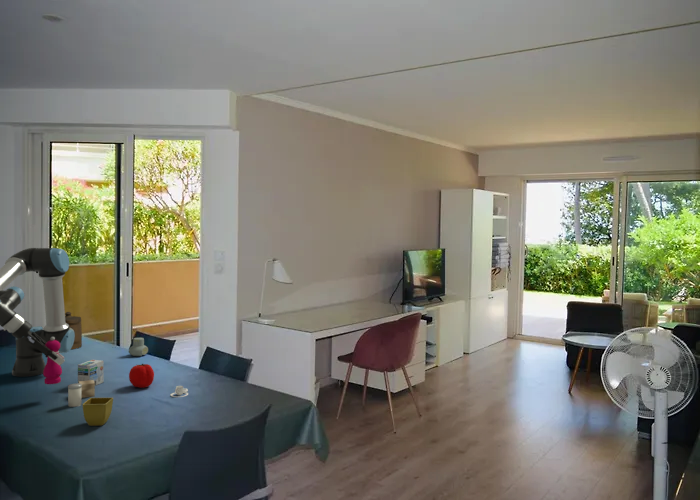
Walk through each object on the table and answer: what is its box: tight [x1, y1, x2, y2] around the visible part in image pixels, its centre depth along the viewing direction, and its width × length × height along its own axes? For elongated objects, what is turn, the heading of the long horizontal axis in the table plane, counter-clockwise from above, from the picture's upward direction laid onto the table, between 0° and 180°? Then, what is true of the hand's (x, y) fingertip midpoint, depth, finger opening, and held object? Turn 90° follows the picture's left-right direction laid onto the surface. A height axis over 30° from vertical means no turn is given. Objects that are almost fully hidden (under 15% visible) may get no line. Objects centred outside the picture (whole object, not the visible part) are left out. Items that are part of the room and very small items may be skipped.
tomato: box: [128, 363, 155, 389], centre depth 265 cm, size 12×12×11 cm
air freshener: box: [128, 337, 149, 357], centre depth 327 cm, size 11×8×10 cm
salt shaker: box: [67, 382, 82, 408], centre depth 236 cm, size 5×5×8 cm
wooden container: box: [65, 311, 83, 350], centre depth 344 cm, size 15×15×22 cm
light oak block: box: [79, 380, 96, 399], centre depth 250 cm, size 6×6×6 cm
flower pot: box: [81, 397, 114, 427], centre depth 215 cm, size 9×9×9 cm
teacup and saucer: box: [170, 385, 189, 398], centre depth 254 cm, size 9×8×4 cm
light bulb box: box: [77, 359, 105, 387], centre depth 266 cm, size 11×7×11 cm, turn 168°
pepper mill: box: [42, 337, 63, 385], centre depth 242 cm, size 7×7×20 cm
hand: (62, 361), depth 244 cm, fingers closed on pepper mill, 5 cm apart
